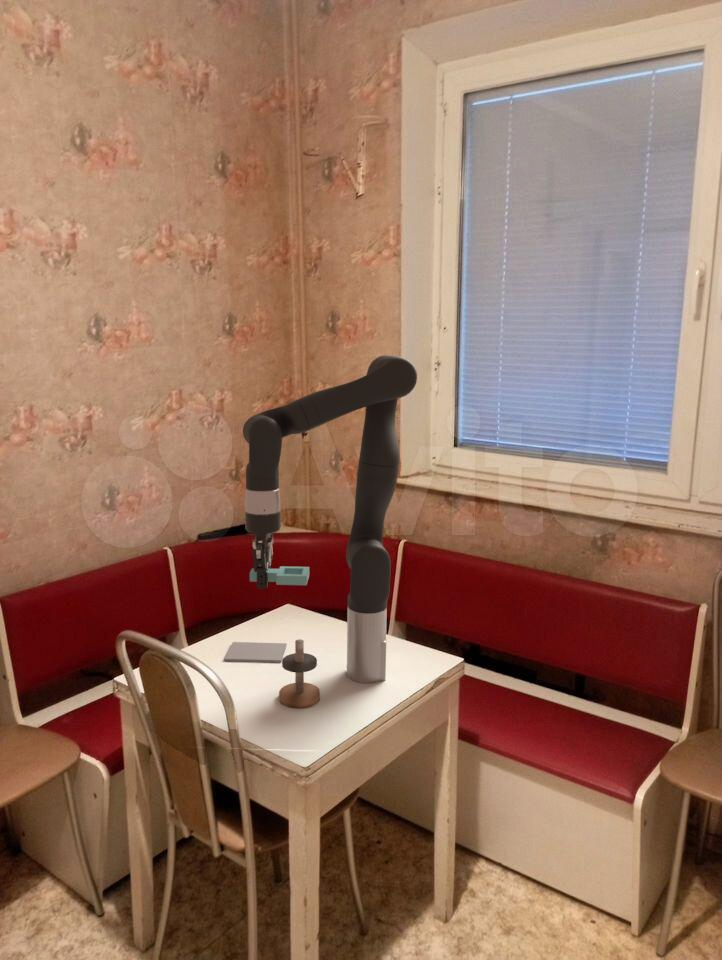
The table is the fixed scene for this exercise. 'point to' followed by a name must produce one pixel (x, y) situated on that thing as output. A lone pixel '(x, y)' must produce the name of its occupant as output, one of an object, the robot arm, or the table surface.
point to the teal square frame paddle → (285, 575)
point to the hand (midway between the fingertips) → (263, 585)
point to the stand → (299, 679)
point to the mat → (256, 652)
